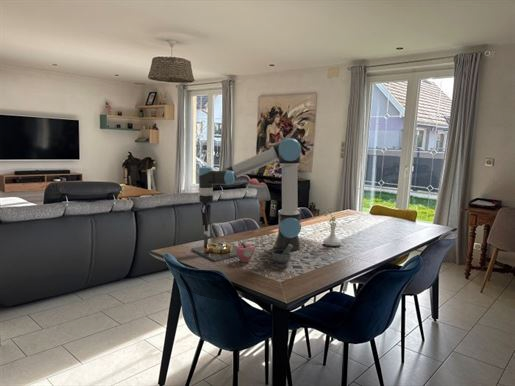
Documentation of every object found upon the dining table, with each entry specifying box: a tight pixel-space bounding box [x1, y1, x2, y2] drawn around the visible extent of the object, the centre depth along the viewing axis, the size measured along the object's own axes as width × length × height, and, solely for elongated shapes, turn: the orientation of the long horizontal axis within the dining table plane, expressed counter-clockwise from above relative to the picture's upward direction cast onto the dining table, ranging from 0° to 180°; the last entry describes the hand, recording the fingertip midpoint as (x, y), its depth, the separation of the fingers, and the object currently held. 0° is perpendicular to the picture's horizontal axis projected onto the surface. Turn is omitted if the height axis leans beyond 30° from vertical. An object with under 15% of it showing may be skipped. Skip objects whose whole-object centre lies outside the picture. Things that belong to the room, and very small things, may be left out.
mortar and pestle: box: [271, 244, 293, 268], centre depth 197 cm, size 11×9×12 cm
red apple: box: [236, 242, 255, 263], centre depth 202 cm, size 10×9×10 cm
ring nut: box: [203, 233, 234, 253], centre depth 216 cm, size 16×13×10 cm
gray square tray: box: [190, 241, 239, 262], centre depth 217 cm, size 24×24×5 cm
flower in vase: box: [322, 205, 342, 247], centre depth 236 cm, size 13×11×25 cm
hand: (206, 236), depth 217 cm, fingers closed
